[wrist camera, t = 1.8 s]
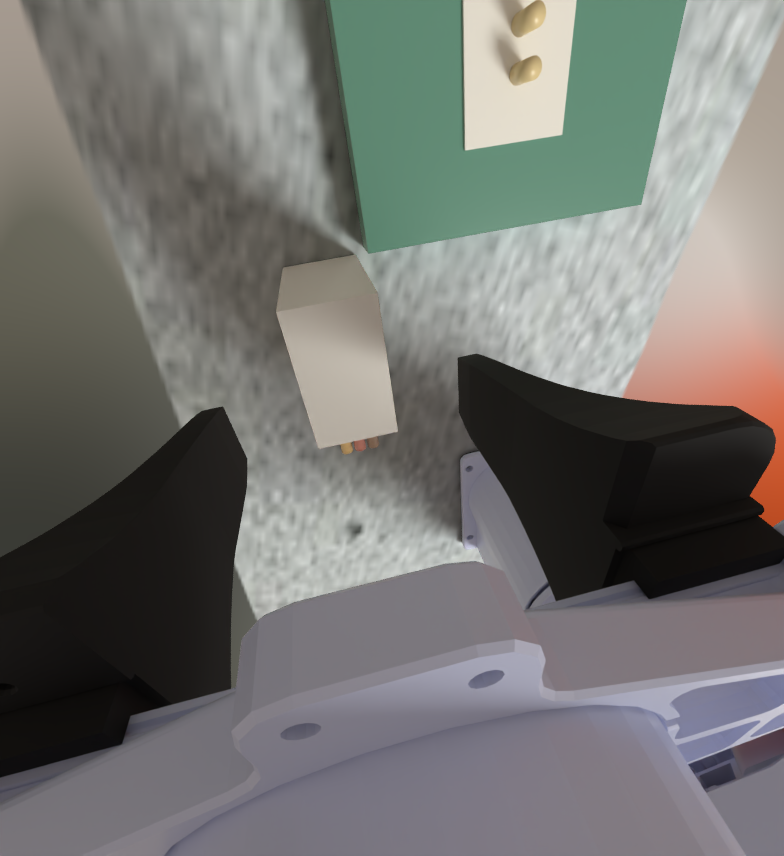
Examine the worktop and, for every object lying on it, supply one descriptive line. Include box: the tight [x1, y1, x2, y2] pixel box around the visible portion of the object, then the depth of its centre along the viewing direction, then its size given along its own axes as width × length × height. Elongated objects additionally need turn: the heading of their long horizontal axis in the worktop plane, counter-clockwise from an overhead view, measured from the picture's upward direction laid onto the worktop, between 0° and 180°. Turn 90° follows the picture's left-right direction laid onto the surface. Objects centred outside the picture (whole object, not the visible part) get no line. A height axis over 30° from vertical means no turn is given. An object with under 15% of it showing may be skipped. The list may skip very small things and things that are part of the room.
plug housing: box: [276, 255, 398, 454], centre depth 16 cm, size 7×3×6 cm, turn 7°
